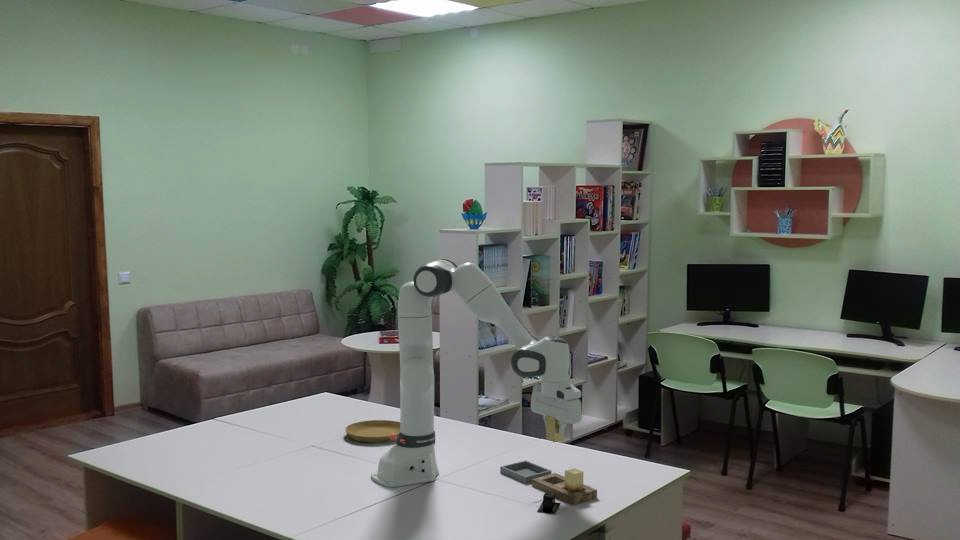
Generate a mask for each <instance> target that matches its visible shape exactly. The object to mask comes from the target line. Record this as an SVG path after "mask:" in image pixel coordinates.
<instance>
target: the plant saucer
mask: <svg viewBox="0 0 960 540" xmlns="http://www.w3.org/2000/svg"><path fill="white" fill-rule="evenodd" d="M344 430H345V434H346V435H348V437H350V438H351V439H353V440H355V441H357V442H362V443H366V444H367V443H368V444H369V443H370V444H371V443H372V444H378V443H379V444H380V443H381V444H382V443H383V444H384V443H389V442H394V440H391V439H390V435H391V434H392V433H393V434H395V435H397V436H398V434H399V432H400V421H396V420H390V419H389V420H387V419H385V420H384V419H374V420H372V419H370V420H363V421H358V422H357V421H356V422H353V423H350V424H349V425H347V426H346V427H345V429H344Z"/></svg>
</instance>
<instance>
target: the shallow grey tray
mask: <svg viewBox="0 0 960 540" xmlns="http://www.w3.org/2000/svg"><path fill="white" fill-rule="evenodd" d="M499 468H500V472H499V473H500V474H502V475H505V476H507V477H510V478H512V479H514V480H516V481H519V482H521V483H523V484H525V485H526V484H529V483H532V479H535V478H538V477H542V476H546V475H550V474H552V470H551V469H548V468H546V467H544V466H541V465H538V464H536V463H533V462H531V461H528V460H522V461H518V462H513V463H510V464H505V465H501V466H500V467H499Z"/></svg>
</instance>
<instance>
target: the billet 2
mask: <svg viewBox="0 0 960 540" xmlns="http://www.w3.org/2000/svg"><path fill="white" fill-rule="evenodd" d="M564 477H565V490H567V491H570V492H572V493H576V492H579V491H583V484H584V471H583V470H580V469H577V468H570V469H566V470H564Z"/></svg>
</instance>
